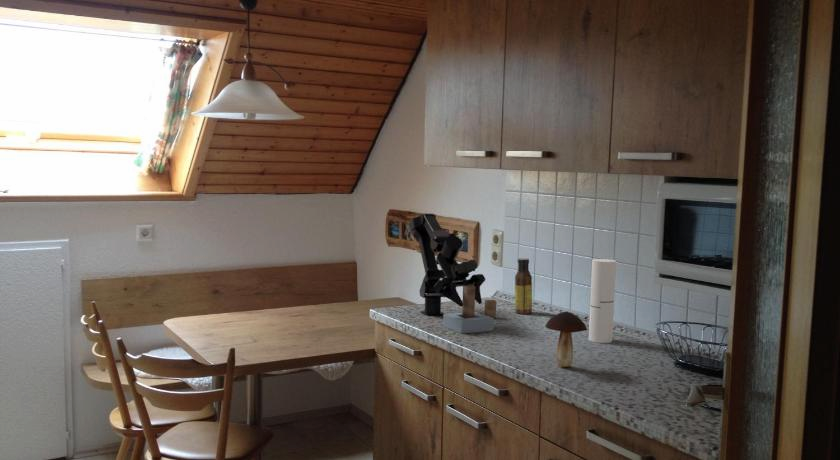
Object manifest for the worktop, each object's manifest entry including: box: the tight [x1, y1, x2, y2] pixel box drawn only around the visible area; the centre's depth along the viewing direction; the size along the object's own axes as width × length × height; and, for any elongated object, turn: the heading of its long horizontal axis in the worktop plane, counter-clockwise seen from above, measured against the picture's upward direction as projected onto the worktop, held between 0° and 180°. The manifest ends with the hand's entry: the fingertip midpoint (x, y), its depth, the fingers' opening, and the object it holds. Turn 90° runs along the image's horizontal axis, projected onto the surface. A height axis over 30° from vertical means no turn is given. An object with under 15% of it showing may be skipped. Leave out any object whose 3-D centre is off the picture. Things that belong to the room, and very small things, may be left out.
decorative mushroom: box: [545, 311, 588, 368], centre depth 203 cm, size 11×11×15 cm
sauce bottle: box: [514, 257, 533, 315], centre depth 276 cm, size 7×6×20 cm
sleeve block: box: [442, 311, 495, 334], centre depth 249 cm, size 12×12×4 cm
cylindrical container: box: [588, 258, 617, 344], centre depth 235 cm, size 7×7×25 cm
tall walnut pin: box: [461, 285, 476, 319], centre depth 249 cm, size 4×4×14 cm
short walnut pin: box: [483, 299, 497, 319], centre depth 267 cm, size 4×4×6 cm
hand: (471, 304), depth 247 cm, fingers open, 8 cm apart
